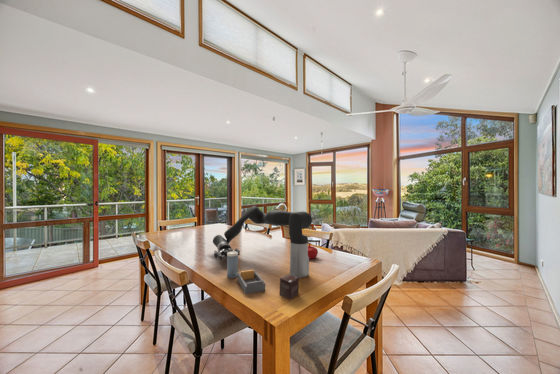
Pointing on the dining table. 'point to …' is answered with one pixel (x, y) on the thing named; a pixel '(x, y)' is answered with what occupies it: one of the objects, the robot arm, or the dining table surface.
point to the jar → (232, 264)
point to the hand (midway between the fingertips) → (228, 256)
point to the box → (289, 286)
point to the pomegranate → (312, 252)
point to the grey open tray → (252, 284)
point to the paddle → (247, 274)
